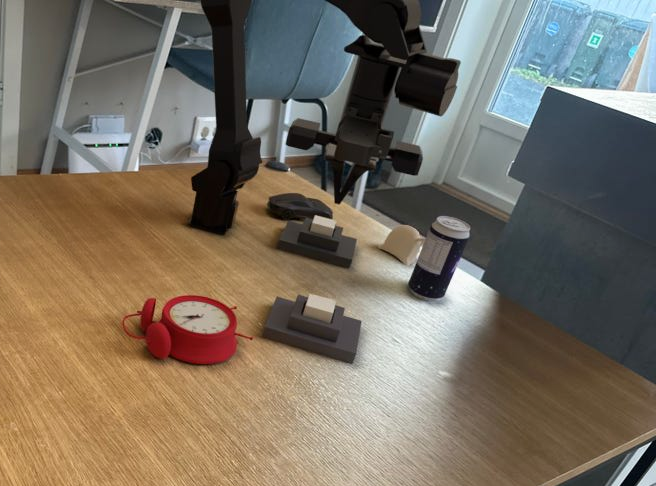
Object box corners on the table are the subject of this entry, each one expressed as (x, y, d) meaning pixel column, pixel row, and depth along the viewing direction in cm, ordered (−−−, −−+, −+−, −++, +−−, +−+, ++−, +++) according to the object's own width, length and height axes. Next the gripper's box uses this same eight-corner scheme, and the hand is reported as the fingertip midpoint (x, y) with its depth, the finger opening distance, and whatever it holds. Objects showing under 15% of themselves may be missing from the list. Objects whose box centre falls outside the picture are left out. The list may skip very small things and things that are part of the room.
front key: (302, 316, 91) (305, 305, 90) (306, 304, 94) (309, 293, 93) (329, 324, 91) (333, 313, 90) (332, 311, 93) (336, 300, 92)
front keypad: (261, 337, 91) (267, 314, 89) (273, 306, 99) (279, 284, 97) (352, 364, 89) (360, 341, 87) (358, 330, 97) (366, 309, 95)
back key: (309, 232, 114) (312, 222, 113) (312, 224, 117) (315, 214, 116) (331, 238, 114) (334, 228, 113) (333, 230, 117) (336, 220, 116)
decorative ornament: (392, 245, 124) (402, 216, 121) (428, 267, 118) (440, 238, 115) (376, 247, 122) (386, 219, 119) (412, 270, 116) (423, 240, 113)
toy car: (333, 225, 127) (340, 205, 125) (270, 220, 124) (275, 199, 122) (323, 212, 131) (329, 192, 129) (262, 206, 129) (267, 186, 127)
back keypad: (276, 249, 114) (282, 229, 113) (285, 229, 122) (290, 210, 120) (349, 269, 113) (355, 249, 111) (354, 247, 120) (360, 229, 118)
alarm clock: (261, 341, 83) (145, 315, 78) (240, 382, 87) (126, 360, 81) (236, 296, 92) (129, 269, 86) (217, 335, 95) (112, 311, 89)
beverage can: (444, 306, 107) (475, 235, 100) (407, 298, 107) (436, 225, 101) (440, 290, 112) (470, 220, 105) (404, 281, 112) (432, 211, 105)
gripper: (294, 92, 90) (267, 206, 99) (441, 125, 88) (399, 239, 96) (304, 76, 99) (278, 182, 108) (437, 105, 97) (399, 211, 106)
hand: (337, 203), depth 104 cm, fingers closed
